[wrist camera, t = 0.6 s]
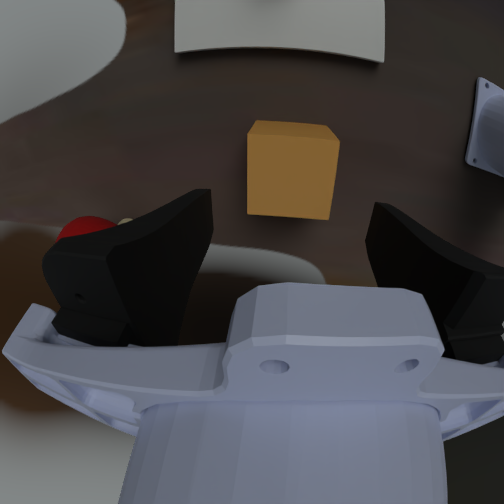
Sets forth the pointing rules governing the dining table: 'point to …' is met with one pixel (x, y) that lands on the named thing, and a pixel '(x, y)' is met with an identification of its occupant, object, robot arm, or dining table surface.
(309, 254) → the dining table surface
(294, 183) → the tilted mustard cube
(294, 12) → the plate
